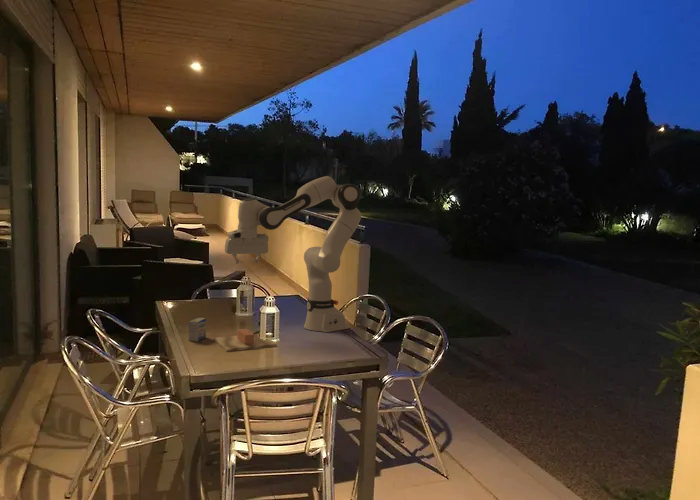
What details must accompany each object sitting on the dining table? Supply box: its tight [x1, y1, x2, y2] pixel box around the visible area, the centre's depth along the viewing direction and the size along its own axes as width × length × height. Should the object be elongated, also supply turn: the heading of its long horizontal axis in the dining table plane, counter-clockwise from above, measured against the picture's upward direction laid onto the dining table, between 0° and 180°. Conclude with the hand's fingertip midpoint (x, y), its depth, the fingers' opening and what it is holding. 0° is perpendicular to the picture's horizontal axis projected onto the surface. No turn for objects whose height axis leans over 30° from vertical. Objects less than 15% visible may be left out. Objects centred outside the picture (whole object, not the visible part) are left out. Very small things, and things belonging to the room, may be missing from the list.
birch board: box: [213, 333, 278, 353], centre depth 243 cm, size 22×18×1 cm
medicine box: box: [188, 317, 207, 342], centre depth 245 cm, size 8×4×9 cm, turn 168°
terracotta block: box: [236, 328, 255, 345], centre depth 242 cm, size 4×4×10 cm
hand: (246, 263), depth 263 cm, fingers open, 8 cm apart
